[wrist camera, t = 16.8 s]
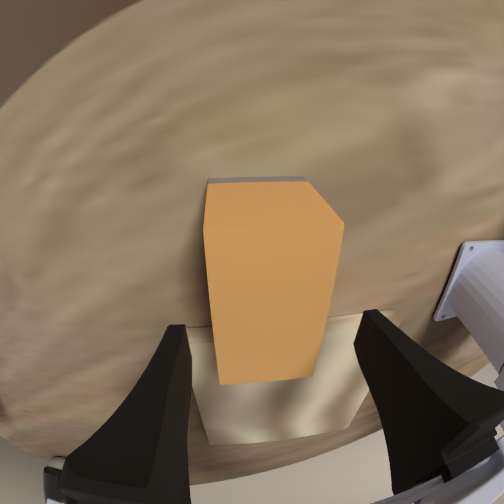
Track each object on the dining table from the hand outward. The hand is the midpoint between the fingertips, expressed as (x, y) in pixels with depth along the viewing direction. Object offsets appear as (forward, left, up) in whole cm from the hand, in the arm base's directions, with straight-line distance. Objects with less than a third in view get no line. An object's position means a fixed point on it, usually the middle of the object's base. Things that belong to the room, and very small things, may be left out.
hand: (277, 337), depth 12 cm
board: (-3, +15, -7) cm, 17 cm away
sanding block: (0, 0, -7) cm, 7 cm away
